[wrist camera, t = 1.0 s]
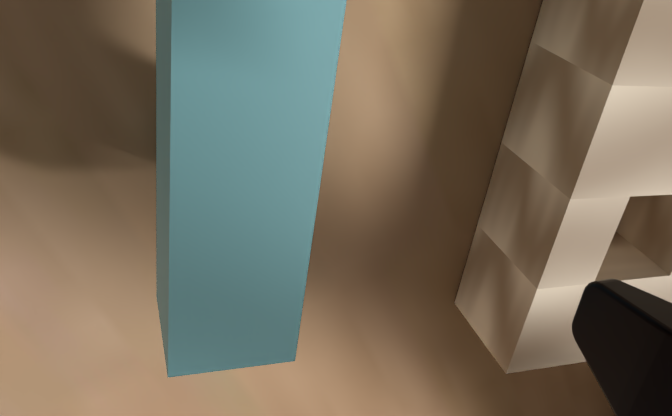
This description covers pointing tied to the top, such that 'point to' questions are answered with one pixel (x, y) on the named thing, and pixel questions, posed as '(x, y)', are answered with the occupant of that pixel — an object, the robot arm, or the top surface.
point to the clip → (239, 173)
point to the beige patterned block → (576, 180)
